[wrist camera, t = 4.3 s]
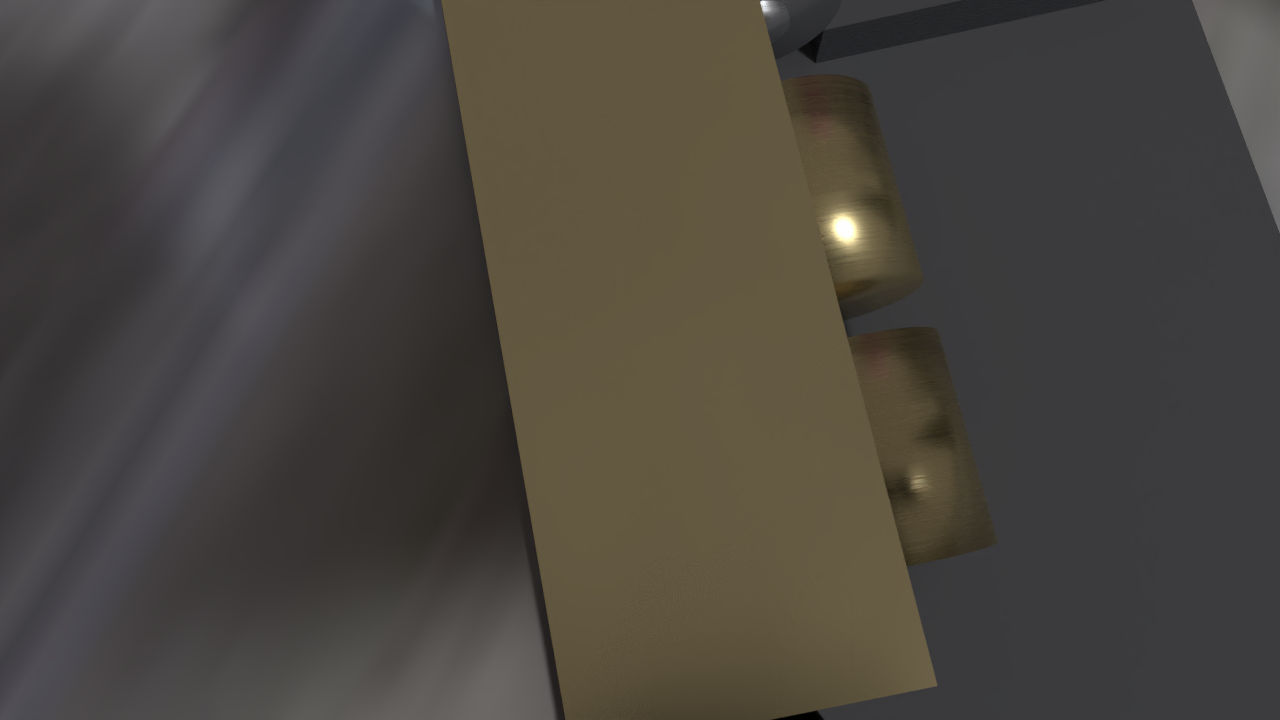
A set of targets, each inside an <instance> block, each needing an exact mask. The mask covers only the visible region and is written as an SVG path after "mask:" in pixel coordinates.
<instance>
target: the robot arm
mask: <svg viewBox="0 0 1280 720" xmlns="http://www.w3.org/2000/svg"><path fill="white" fill-rule="evenodd" d="M772 720H824V718H823V717H822V716H821V714H820V713H819V712H818V710H816V711H811V712H807V713H802V714H797V715H792V716H787V717H782V718H777V719H772Z"/></svg>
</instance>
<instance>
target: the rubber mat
mask: <svg viewBox="0 0 1280 720" xmlns="http://www.w3.org/2000/svg"><path fill="white" fill-rule="evenodd" d="M775 61H776V65H777V69H778V72H779V76H780V80H781V81H783V80H787V79H791V78H797V77H802V76H810V75H822V74H833V75H843V76H849V77H852V78H856V79H858V80H860V81H862V82H863V83H865V84H866V85H867V86H868V87H869V89H870V90H871V94H872V97H873V101H874V104H875V108H876V111H877V115H878V118H879V122H880V125H881V129H882V132H883V136H884V139H885V143H886V147H887V150H888V154H889V157H890V161H891V164H892V168H893V171H894V175H895V178H896V182H897V185H898V189H899V193H900V196H901V200H902V203H903V207H904V210H905V214H906V217H907V221H908V224H909V228H910V231H911V235H912V239H913V242H914V246H915V249H916V253H917V256H918V260H919V263H920V267H921V270H922V274H923V277H924V282H923V284H922V285H921V287H919V288H918V289H917V290H916V291H914V292H913V293H912V294H910V295H908V296H907V297H905V298H903V299H901V300H899V301H897V302H895V303H892V304H890V305H888V306H885V307H883V308H881V309H878V310H875V311H872V312H870V313H867V314H864V315H861V316H858V317H854V318H851V319H848V320H844V321H843V323H844V327H845V331H846V335H847V338H848V337H853V336H857V335H862V334H867V333H872V332H878V331H884V330H890V329H897V328H907V327H932V328H936V329H938V331H939V334H940V338H941V341H942V345H943V348H944V352H945V355H946V359H947V362H948V366H949V370H950V373H951V377H952V380H953V384H954V387H955V391H956V394H957V398H958V401H959V405H960V408H961V412H962V416H963V419H964V423H965V426H966V430H967V433H968V437H969V440H970V444H971V447H972V451H973V454H974V458H975V462H976V465H977V469H978V472H979V476H980V479H981V483H982V486H983V490H984V493H985V497H986V500H987V504H988V508H989V511H990V515H991V518H992V522H993V525H994V529H995V532H996V536H997V539H998V543H997V544H995V545H993V546H990V547H987V548H984V549H981V550H977V551H974V552H970V553H966V554H962V555H958V556H954V557H950V558H945V559H941V560H936V561H932V562H927V563H922V564H918V565H913V566H908V567H907V570H908V574H909V578H910V581H911V585H912V589H913V593H914V597H915V601H916V605H917V608H918V612H919V616H920V620H921V624H922V628H923V631H924V635H925V639H926V643H927V647H928V651H929V655H930V658H931V662H932V666H933V670H934V674H935V678H936V682H937V685H938V686H935V687H930V688H925V689H920V690H915V691H910V692H906V693H901V694H896V695H891V696H886V697H881V698H876V699H871V700H866V701H861V702H856V703H851V704H846V705H841V706H836V707H831V708H826V709H821V710H818V712H819V713H820V714H821V716H822V717H823V718H824V720H1280V233H1279V230H1278V228H1277V225H1276V223H1275V220H1274V217H1273V215H1272V212H1271V209H1270V207H1269V204H1268V201H1267V199H1266V196H1265V193H1264V191H1263V188H1262V185H1261V183H1260V180H1259V177H1258V175H1257V172H1256V169H1255V167H1254V164H1253V161H1252V159H1251V156H1250V154H1249V151H1248V148H1247V146H1246V143H1245V140H1244V138H1243V135H1242V132H1241V130H1240V127H1239V124H1238V122H1237V119H1236V116H1235V114H1234V111H1233V108H1232V106H1231V103H1230V100H1229V98H1228V95H1227V92H1226V90H1225V87H1224V84H1223V82H1222V79H1221V77H1220V74H1219V71H1218V69H1217V66H1216V63H1215V61H1214V58H1213V55H1212V53H1211V50H1210V47H1209V45H1208V42H1207V39H1206V37H1205V34H1204V31H1203V29H1202V26H1201V23H1200V21H1199V18H1198V15H1197V13H1196V10H1195V8H1194V5H1193V2H1192V0H1105V1H1102V2H1097V3H1092V4H1088V5H1083V6H1079V7H1074V8H1069V9H1065V10H1060V11H1055V12H1051V13H1046V14H1042V15H1037V16H1032V17H1028V18H1023V19H1019V20H1014V21H1009V22H1005V23H1000V24H995V25H991V26H986V27H982V28H977V29H972V30H968V31H963V32H959V33H954V34H949V35H945V36H940V37H936V38H931V39H926V40H922V41H917V42H912V43H908V44H903V45H899V46H894V47H889V48H885V49H880V50H876V51H871V52H866V53H862V54H857V55H852V56H848V57H843V58H839V59H834V60H829V61H825V62H820V63H816V64H815V61H814V57H813V53H812V49H811V46H810V42H808V43H807V44H805V45H804V46H802V47H801V48H799V49H797V50H795V51H794V52H792V53H790V54H788V55H786V56H783V57H781V58H779V59H776V60H775Z"/></svg>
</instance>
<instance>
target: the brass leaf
mask: <svg viewBox="0 0 1280 720" xmlns="http://www.w3.org/2000/svg"><path fill="white" fill-rule="evenodd" d="M441 2H442V8H443V14H444V20H445V25H446V31H447V37H448V43H449V49H450V54H451V60H452V66H453V72H454V77H455V83H456V89H457V95H458V101H459V106H460V112H461V118H462V124H463V130H464V135H465V141H466V147H467V153H468V158H469V164H470V170H471V176H472V182H473V187H474V193H475V199H476V205H477V211H478V216H479V222H480V228H481V234H482V239H483V245H484V251H485V257H486V263H487V268H488V274H489V280H490V286H491V292H492V297H493V303H494V309H495V315H496V320H497V326H498V332H499V338H500V344H501V349H502V355H503V361H504V367H505V373H506V378H507V384H508V390H509V396H510V401H511V407H512V413H513V419H514V425H515V430H516V436H517V442H518V448H519V454H520V459H521V465H522V471H523V477H524V482H525V488H526V494H527V500H528V506H529V511H530V517H531V523H532V529H533V535H534V540H535V546H536V552H537V558H538V563H539V569H540V575H541V581H542V587H543V592H544V598H545V604H546V610H547V616H548V621H549V627H550V633H551V639H552V644H553V650H554V656H555V662H556V668H557V673H558V679H559V685H560V691H561V697H562V702H563V708H564V714H565V720H772V719H777V718H782V717H787V716H792V715H797V714H802V713H807V712H811V711H816V710H821V709H826V708H831V707H836V706H841V705H846V704H851V703H856V702H861V701H866V700H871V699H876V698H881V697H886V696H891V695H896V694H901V693H906V692H910V691H915V690H920V689H925V688H930V687H935V686H938V685H937V682H936V678H935V674H934V670H933V666H932V662H931V658H930V655H929V651H928V647H927V643H926V639H925V635H924V631H923V628H922V624H921V620H920V616H919V612H918V608H917V605H916V601H915V597H914V593H913V589H912V585H911V581H910V578H909V574H908V570H907V567H908V566H913V565H918V564H922V563H927V562H932V561H936V560H941V559H945V558H950V557H954V556H958V555H962V554H966V553H970V552H974V551H977V550H981V549H984V548H987V547H990V546H993V545H995V544H997V543H998V539H997V536H996V532H995V529H994V525H993V522H992V518H991V515H990V511H989V508H988V504H987V500H986V497H985V493H984V490H983V486H982V483H981V479H980V476H979V472H978V469H977V465H976V462H975V458H974V454H973V451H972V447H971V444H970V440H969V437H968V433H967V430H966V426H965V423H964V419H963V416H962V412H961V408H960V405H959V401H958V398H957V394H956V391H955V387H954V384H953V380H952V377H951V373H950V370H949V366H948V362H947V359H946V355H945V352H944V348H943V345H942V341H941V338H940V334H939V331H938V329H936V328H932V327H907V328H897V329H890V330H884V331H878V332H872V333H867V334H862V335H857V336H853V337H848V338H847V335H846V331H845V327H844V323H843V321H844V320H848V319H851V318H854V317H858V316H861V315H864V314H867V313H870V312H872V311H875V310H878V309H881V308H883V307H885V306H888V305H890V304H892V303H895V302H897V301H899V300H901V299H903V298H905V297H907V296H908V295H910V294H912V293H913V292H914V291H916V290H917V289H918V288H919V287H921V285H922V284H923V282H924V277H923V274H922V270H921V267H920V263H919V260H918V256H917V253H916V249H915V246H914V242H913V239H912V235H911V231H910V228H909V224H908V221H907V217H906V214H905V210H904V207H903V203H902V200H901V196H900V193H899V189H898V185H897V182H896V178H895V175H894V171H893V168H892V164H891V161H890V157H889V154H888V150H887V147H886V143H885V139H884V136H883V132H882V129H881V125H880V122H879V118H878V115H877V111H876V108H875V104H874V101H873V97H872V94H871V90H870V89H869V87H868V86H867V85H866V84H865V83H863V82H862V81H860V80H858V79H856V78H852V77H849V76H843V75H833V74H822V75H810V76H802V77H797V78H791V79H787V80H783V81H781V80H780V76H779V72H778V69H777V65H776V61H775V57H774V53H773V49H772V45H771V42H770V38H769V34H768V30H767V26H766V22H765V18H764V15H763V11H762V7H761V3H760V0H441Z"/></svg>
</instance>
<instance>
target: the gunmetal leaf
mask: <svg viewBox="0 0 1280 720" xmlns="http://www.w3.org/2000/svg"><path fill="white" fill-rule="evenodd" d="M1102 1H1105V0H760V3H761V7H762V11H763V15H764V18H765V22H766V26H767V30H768V34H769V38H770V42H771V45H772V49H773V53H774V57H775V60H776V59H779V58H781V57H783V56H786V55H788V54H790V53H792V52H794V51H795V50H797V49H799V48H801V47H802V46H804V45H805V44H807V43H808V42H810V46H811V49H812V53H813V57H814V61H815V64H816V63H820V62H825V61H829V60H834V59H839V58H843V57H848V56H852V55H857V54H862V53H866V52H871V51H876V50H880V49H885V48H889V47H894V46H899V45H903V44H908V43H912V42H917V41H922V40H926V39H931V38H936V37H940V36H945V35H949V34H954V33H959V32H963V31H968V30H972V29H977V28H982V27H986V26H991V25H995V24H1000V23H1005V22H1009V21H1014V20H1019V19H1023V18H1028V17H1032V16H1037V15H1042V14H1046V13H1051V12H1055V11H1060V10H1065V9H1069V8H1074V7H1079V6H1083V5H1088V4H1092V3H1097V2H1102Z"/></svg>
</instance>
